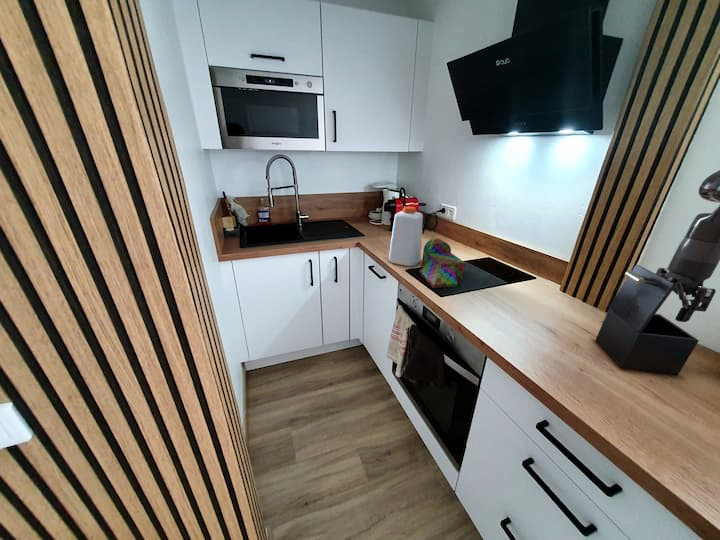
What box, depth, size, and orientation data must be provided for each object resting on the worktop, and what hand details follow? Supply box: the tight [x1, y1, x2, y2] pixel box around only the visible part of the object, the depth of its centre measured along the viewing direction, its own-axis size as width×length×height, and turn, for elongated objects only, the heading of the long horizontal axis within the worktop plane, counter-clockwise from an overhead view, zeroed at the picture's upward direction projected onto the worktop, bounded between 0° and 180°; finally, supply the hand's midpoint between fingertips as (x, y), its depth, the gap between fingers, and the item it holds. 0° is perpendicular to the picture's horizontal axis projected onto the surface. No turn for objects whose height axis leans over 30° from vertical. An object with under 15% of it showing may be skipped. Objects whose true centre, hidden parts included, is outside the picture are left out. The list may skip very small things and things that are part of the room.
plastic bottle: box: [388, 206, 424, 267], centre depth 144 cm, size 15×15×28 cm
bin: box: [594, 308, 700, 377], centre depth 81 cm, size 14×13×12 cm
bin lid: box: [608, 264, 677, 332], centre depth 77 cm, size 14×13×5 cm
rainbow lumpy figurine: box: [418, 237, 466, 289], centre depth 132 cm, size 25×17×14 cm
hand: (666, 312), depth 77 cm, fingers open, 8 cm apart
